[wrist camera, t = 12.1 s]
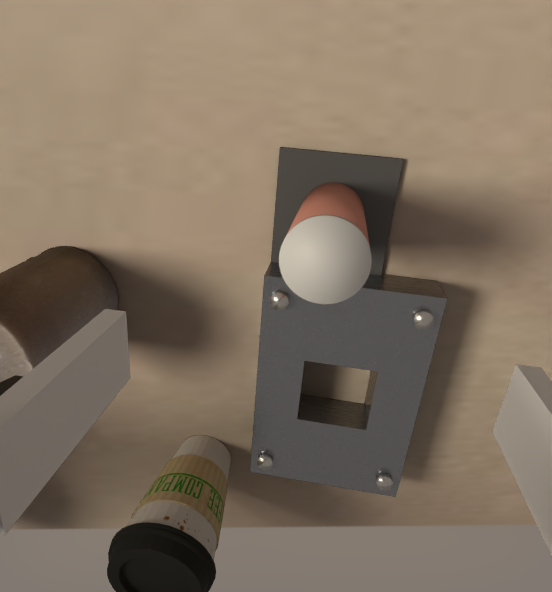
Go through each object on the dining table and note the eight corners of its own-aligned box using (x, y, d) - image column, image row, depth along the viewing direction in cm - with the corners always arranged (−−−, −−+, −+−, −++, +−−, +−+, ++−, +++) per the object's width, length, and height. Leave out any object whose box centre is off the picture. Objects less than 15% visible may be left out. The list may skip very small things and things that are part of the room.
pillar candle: (18, 247, 43) (-131, 312, 30) (108, 243, 42) (-7, 310, 28) (47, 333, 47) (-74, 425, 34) (130, 332, 46) (38, 429, 32)
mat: (271, 260, 40) (270, 262, 40) (280, 147, 36) (279, 147, 36) (380, 274, 39) (381, 275, 39) (402, 158, 35) (403, 159, 35)
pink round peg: (297, 240, 39) (275, 297, 27) (304, 179, 36) (282, 211, 25) (358, 248, 38) (363, 309, 26) (368, 185, 36) (379, 222, 24)
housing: (257, 444, 49) (248, 476, 45) (271, 260, 40) (263, 278, 36) (391, 467, 47) (396, 501, 43) (437, 280, 39) (449, 301, 34)
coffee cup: (259, 445, 49) (227, 575, 35) (227, 499, 53) (187, 634, 39) (180, 408, 48) (116, 525, 35) (154, 466, 52) (87, 590, 39)
